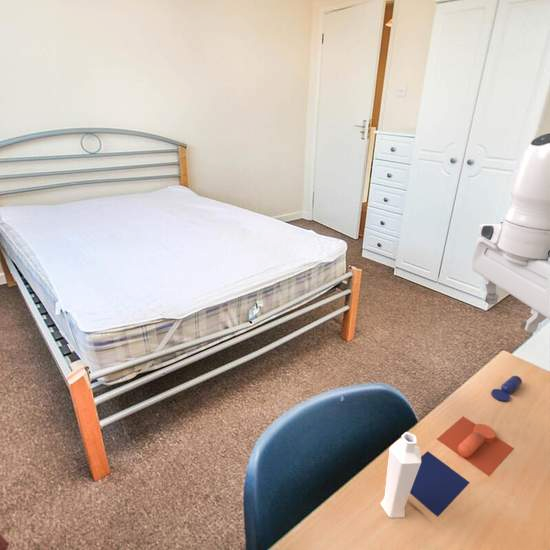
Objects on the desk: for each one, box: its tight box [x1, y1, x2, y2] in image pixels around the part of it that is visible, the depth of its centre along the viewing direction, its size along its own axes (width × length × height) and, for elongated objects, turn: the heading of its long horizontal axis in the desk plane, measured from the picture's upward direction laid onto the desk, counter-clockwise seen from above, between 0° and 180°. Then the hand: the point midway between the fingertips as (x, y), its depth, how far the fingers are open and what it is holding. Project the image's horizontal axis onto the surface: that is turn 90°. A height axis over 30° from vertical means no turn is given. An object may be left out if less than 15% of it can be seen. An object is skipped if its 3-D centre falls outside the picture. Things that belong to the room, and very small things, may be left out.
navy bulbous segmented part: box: [490, 375, 523, 403], centre depth 86 cm, size 11×4×2 cm, turn 128°
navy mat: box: [409, 450, 470, 518], centre depth 65 cm, size 10×8×1 cm
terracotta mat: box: [436, 415, 515, 477], centre depth 72 cm, size 10×10×1 cm
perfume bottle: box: [380, 431, 422, 519], centre depth 58 cm, size 5×4×15 cm
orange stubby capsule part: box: [458, 423, 496, 457], centre depth 72 cm, size 11×4×2 cm, turn 128°
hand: (507, 315), depth 66 cm, fingers open, 8 cm apart
